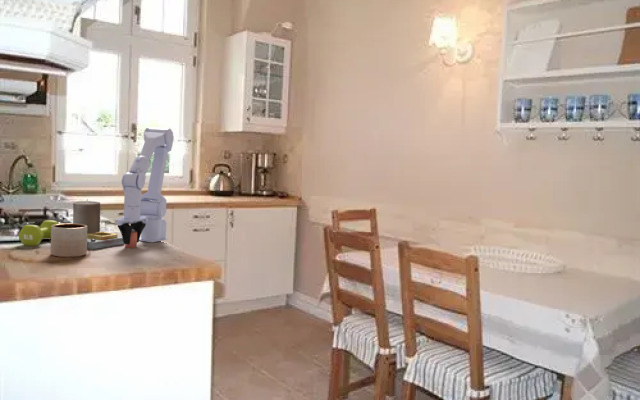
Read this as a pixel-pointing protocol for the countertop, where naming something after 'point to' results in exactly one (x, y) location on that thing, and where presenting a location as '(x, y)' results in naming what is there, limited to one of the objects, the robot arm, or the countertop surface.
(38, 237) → the dumbbell
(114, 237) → the grey flat block
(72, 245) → the planter
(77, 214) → the pillar candle
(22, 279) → the countertop surface
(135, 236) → the oil can
